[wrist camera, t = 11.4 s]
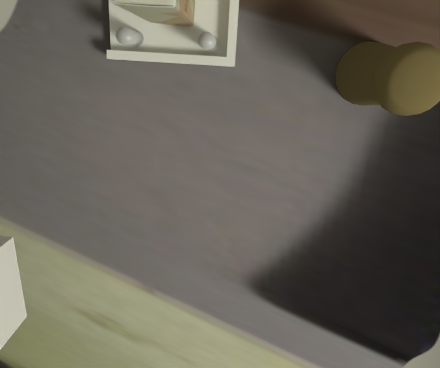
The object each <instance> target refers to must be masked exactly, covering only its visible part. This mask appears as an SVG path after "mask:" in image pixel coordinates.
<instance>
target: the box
mask: <svg viewBox="0 0 440 368" xmlns="http://www.w3.org/2000/svg"><path fill="white" fill-rule="evenodd" d="M111 1H112V3H113V4H115V5H117V6H119V7H121V8H123V9H125V10H127V11H129V12H131V13H133V14H135V15H137V16H139V17H141V18H142V19H144V20H146V21H148V22H151V23H157V24H167V25H180V26H193V25H194V13H195V0H111Z"/></svg>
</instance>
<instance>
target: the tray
mask: <svg viewBox="0 0 440 368" xmlns="http://www.w3.org/2000/svg"><path fill="white" fill-rule="evenodd" d="M238 9H239V0H195V13H194V25H193V26H180V25H167V24H157V23H151V22H148V21H146V20H144V19H142V18H141V17H139V16H137V15H135V14H133V13H131V12H129V11H127V10H125V9H123V8H121V7H119V6H117V5H115V4H113V3H112V1H111V0H109V21H110V43H111V50H107V59H118V60H134V61H150V62H167V63H183V64H199V65H216V66H232V67H235V54H236V39H237V24H238Z"/></svg>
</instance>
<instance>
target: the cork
mask: <svg viewBox="0 0 440 368" xmlns="http://www.w3.org/2000/svg"><path fill="white" fill-rule="evenodd" d="M335 81H336V86H337V89H338V91H339V93H340V94H341V95H342V97H343V98H344V99H345V100H347V101H349V102H351V103H352V104H358V105H381V106H382V108H384V109H386V110H387V111H389V112H391V113H393V114H397V115H403V116H407V115H414V114H420V113H422V112H424V111H426V110H429V109H430V108H432V107H433V106H434V105H435V104H437V103H438V102H439V101H440V50H439V49H437V48H436V47H434V46H432V45H430V44H427V43H421V42H414V43H408V44H402V45H400V46H398V47H393V46H390V45H386V44H383V43H379V42H373V41H368V42H362V43H359V44H357V45H355V46H353V47H351V48H350V49H349V50H348V51H347V52H346V53H345V54H344V55H343V56H342V58H341V59H340V61H339V63H338V65H337V69H336V73H335Z"/></svg>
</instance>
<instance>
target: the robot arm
mask: <svg viewBox="0 0 440 368" xmlns="http://www.w3.org/2000/svg"><path fill="white" fill-rule="evenodd" d="M26 317H27V314H26V309H25V303H24V297H23V292H22V286H21V280H20V274H19V269H18V263H17V257H16V251H15V246H14V240H13V237H4V236H0V349H1V348H2V347H3V346H4V344H5V343H6V342H7V341H8V339H9V338H10V337H11V336H12V334H13V333H14V332H15V331H16V329H17V328H18V327H19V326H20V324H21V323H22V322H23V320H24V319H25V318H26Z"/></svg>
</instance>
